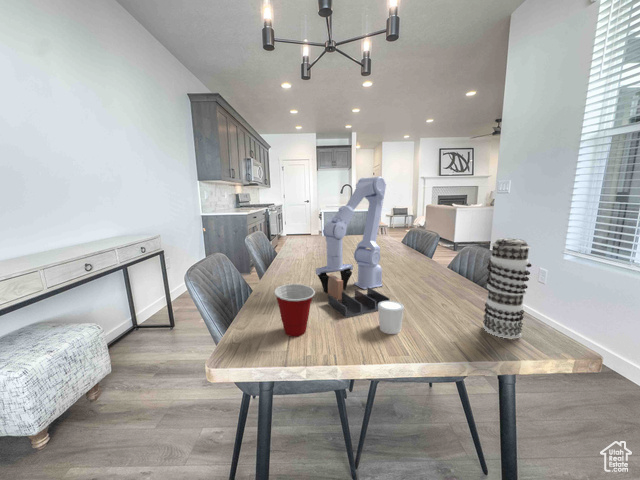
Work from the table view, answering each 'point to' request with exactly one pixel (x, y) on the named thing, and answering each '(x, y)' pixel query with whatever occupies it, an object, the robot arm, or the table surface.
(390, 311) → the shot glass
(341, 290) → the upright salmon slab
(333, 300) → the rack
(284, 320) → the plastic cup
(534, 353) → the table surface
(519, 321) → the decorative candle
